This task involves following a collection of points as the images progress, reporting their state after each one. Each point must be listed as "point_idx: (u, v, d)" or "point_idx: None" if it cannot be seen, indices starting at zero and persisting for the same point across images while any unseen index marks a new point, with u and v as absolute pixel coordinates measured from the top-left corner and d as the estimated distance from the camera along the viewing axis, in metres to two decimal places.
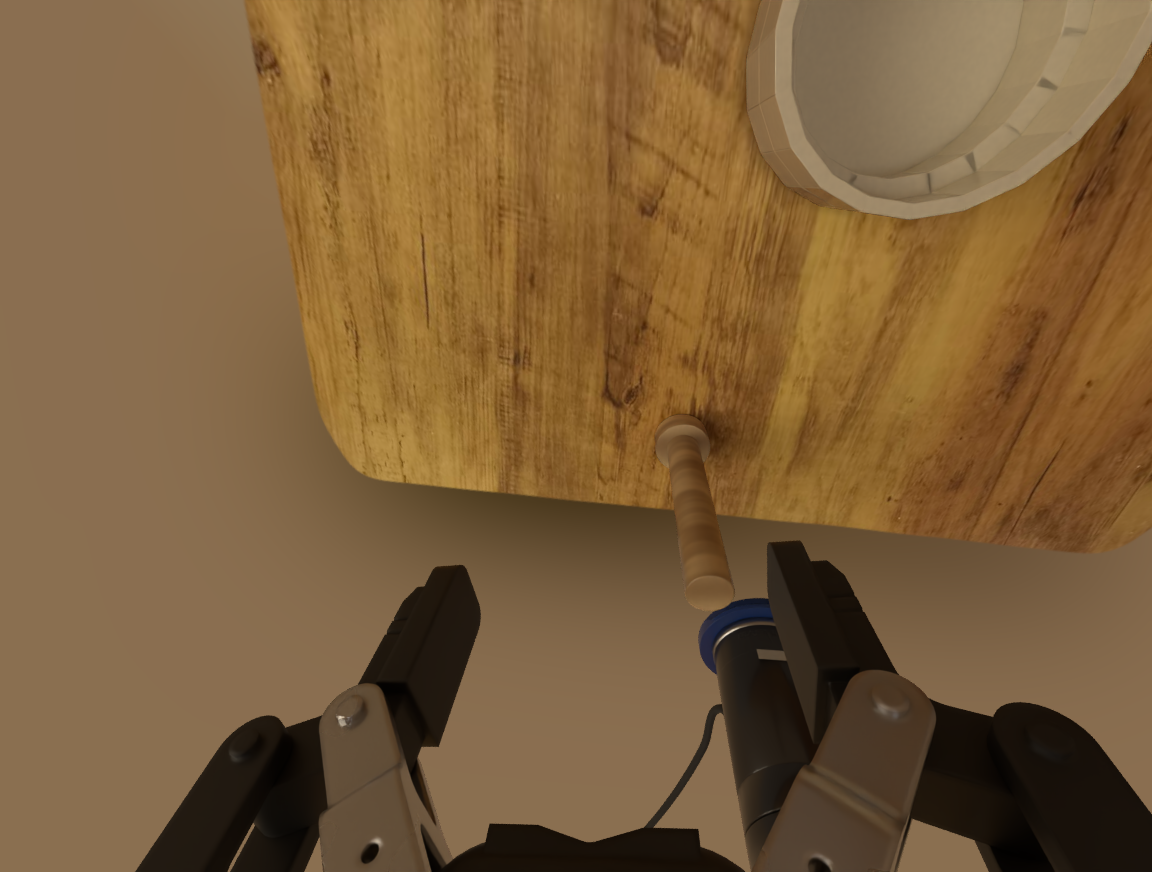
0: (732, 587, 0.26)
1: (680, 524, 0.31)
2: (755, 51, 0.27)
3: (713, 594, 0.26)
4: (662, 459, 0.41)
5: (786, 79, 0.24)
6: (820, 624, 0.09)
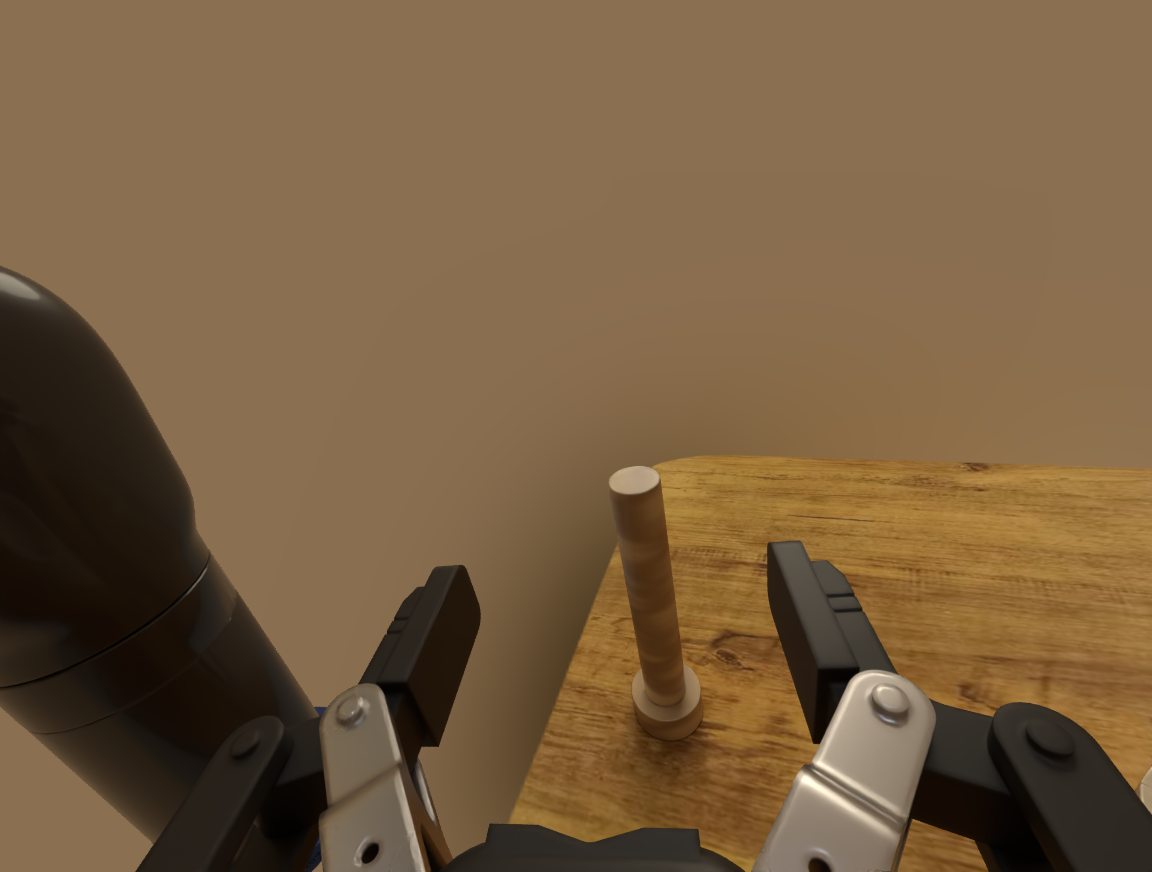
0: (641, 492, 0.23)
1: None
2: None
3: (633, 481, 0.24)
4: None
5: None
6: (820, 624, 0.09)
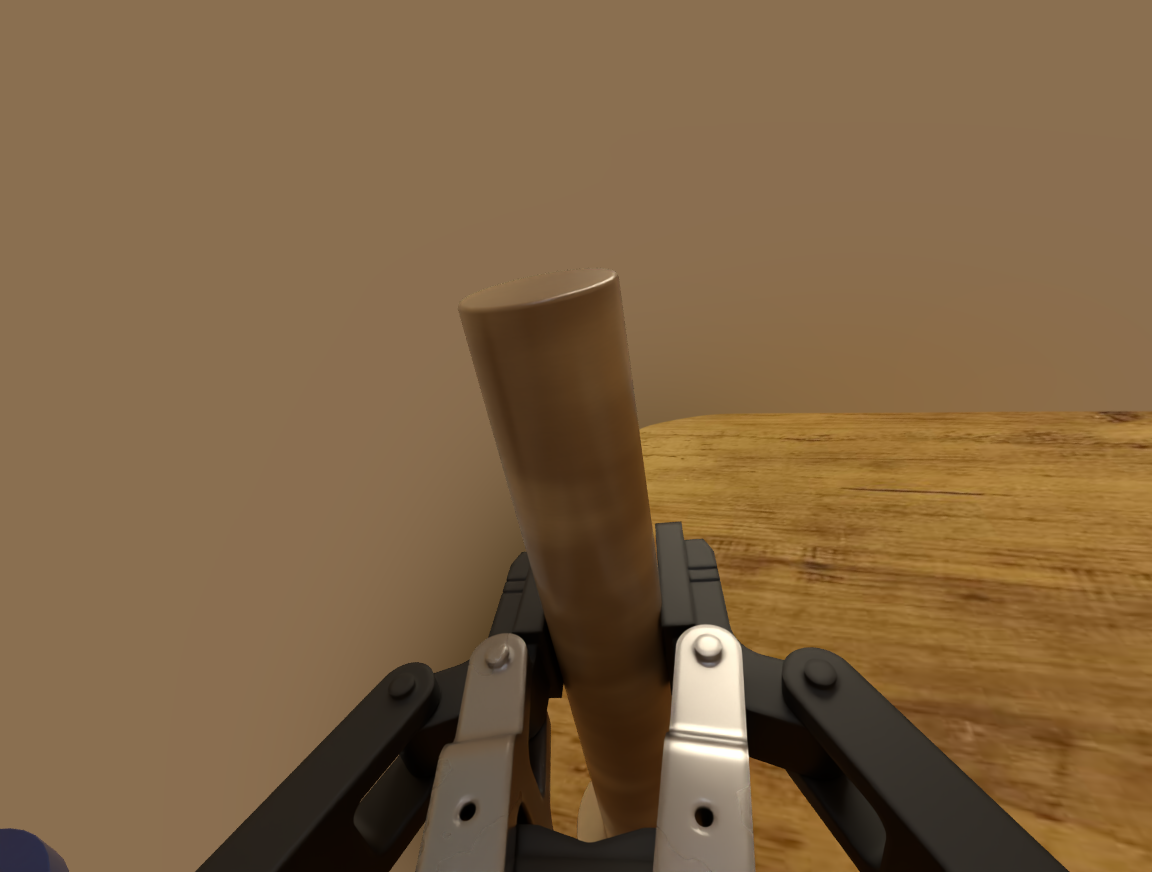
0: (549, 299, 0.07)
1: None
2: None
3: (533, 288, 0.08)
4: None
5: None
6: (674, 590, 0.11)
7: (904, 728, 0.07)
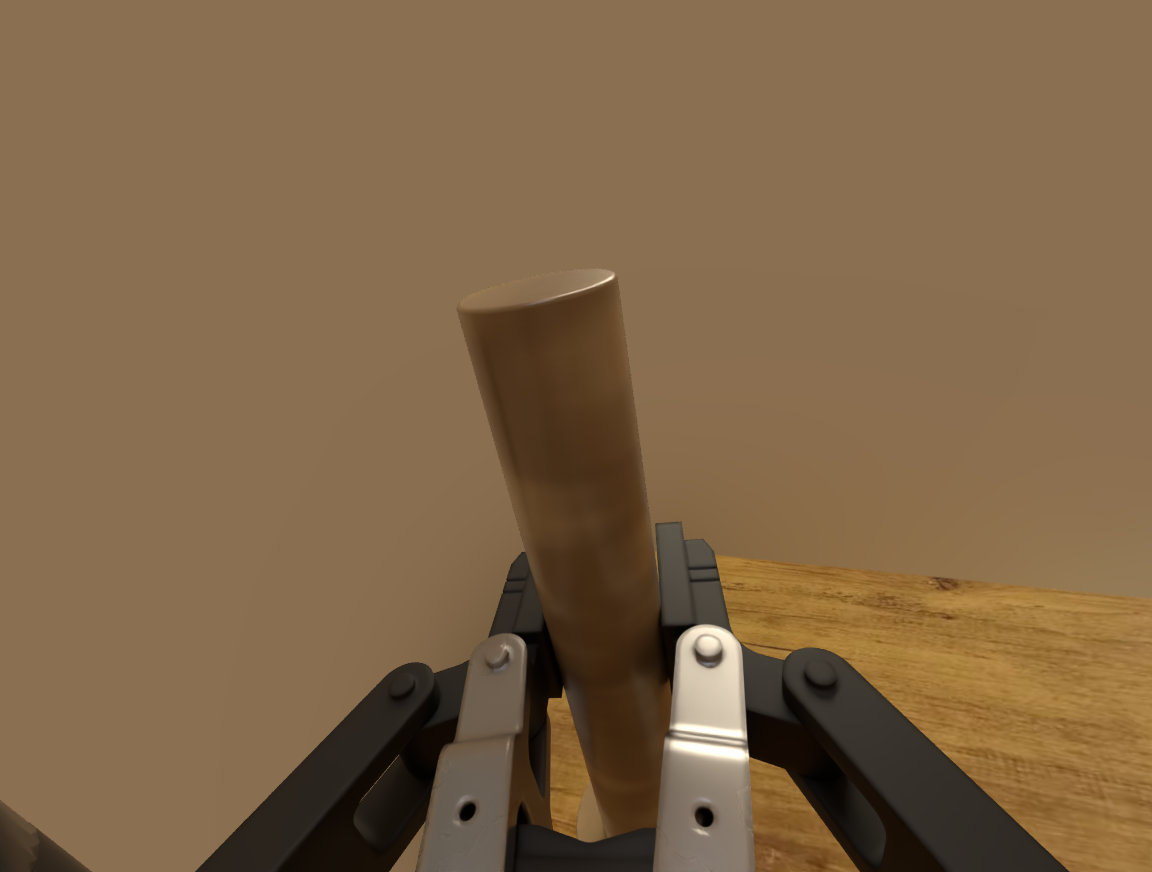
0: (548, 299, 0.07)
1: None
2: None
3: (532, 288, 0.08)
4: None
5: None
6: (675, 590, 0.11)
7: (904, 728, 0.07)
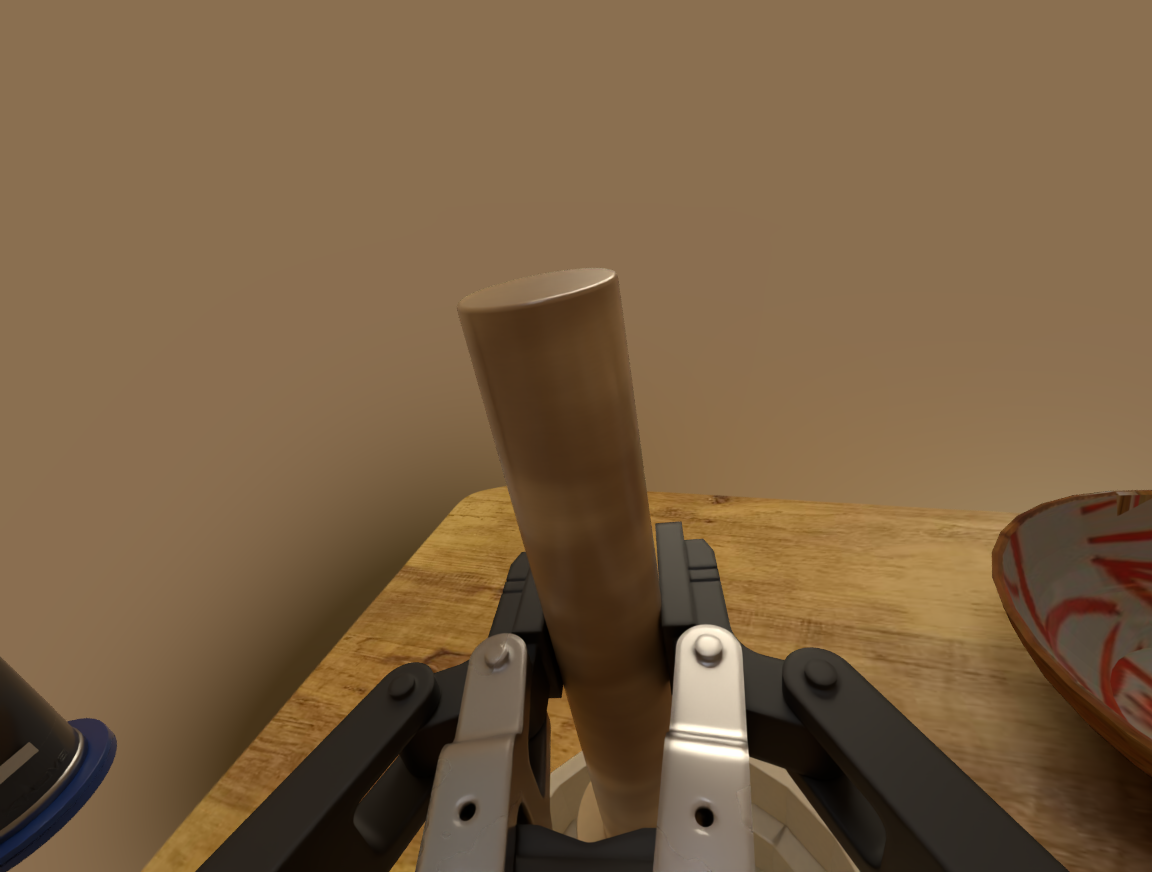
0: (548, 299, 0.07)
1: None
2: None
3: (532, 288, 0.08)
4: None
5: None
6: (675, 590, 0.11)
7: (904, 728, 0.07)
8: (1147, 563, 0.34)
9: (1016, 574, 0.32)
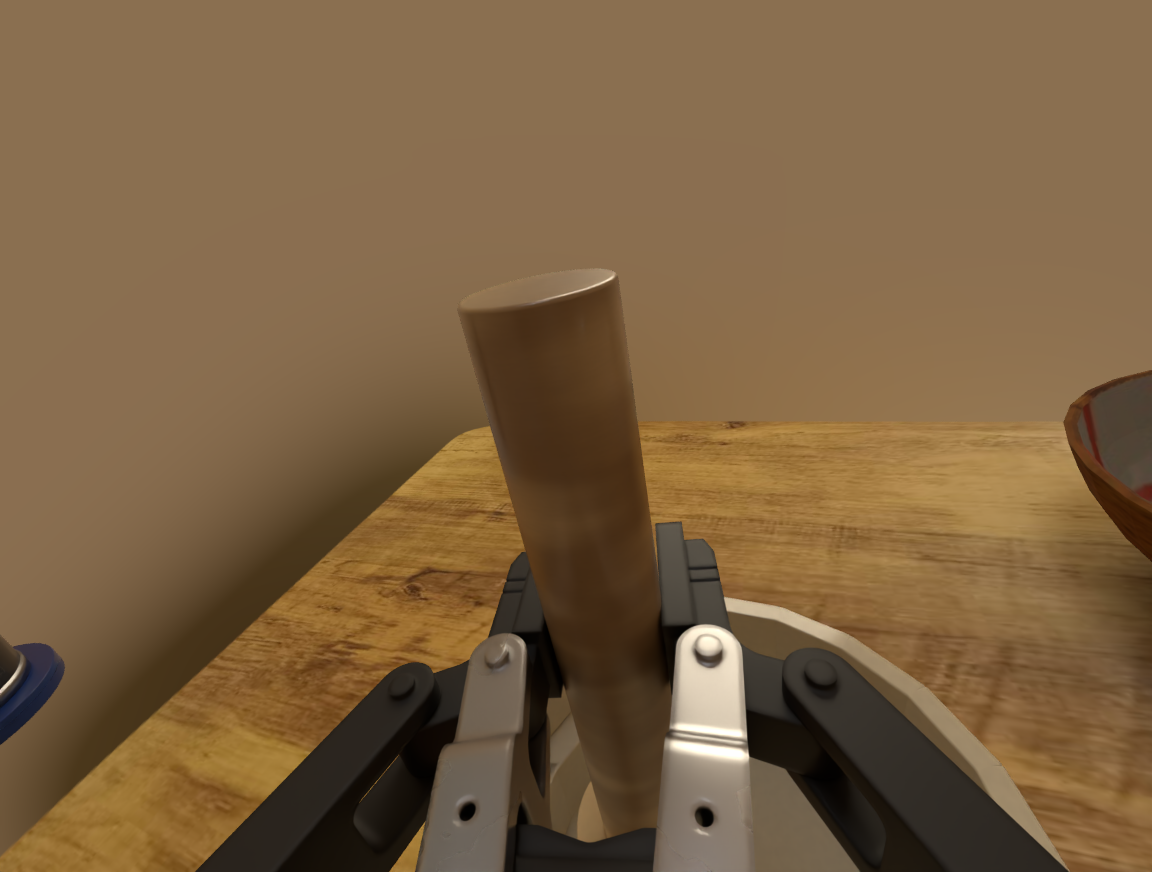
0: (548, 299, 0.07)
1: None
2: None
3: (532, 288, 0.08)
4: None
5: None
6: (675, 590, 0.11)
7: (904, 728, 0.07)
8: None
9: (1091, 449, 0.28)
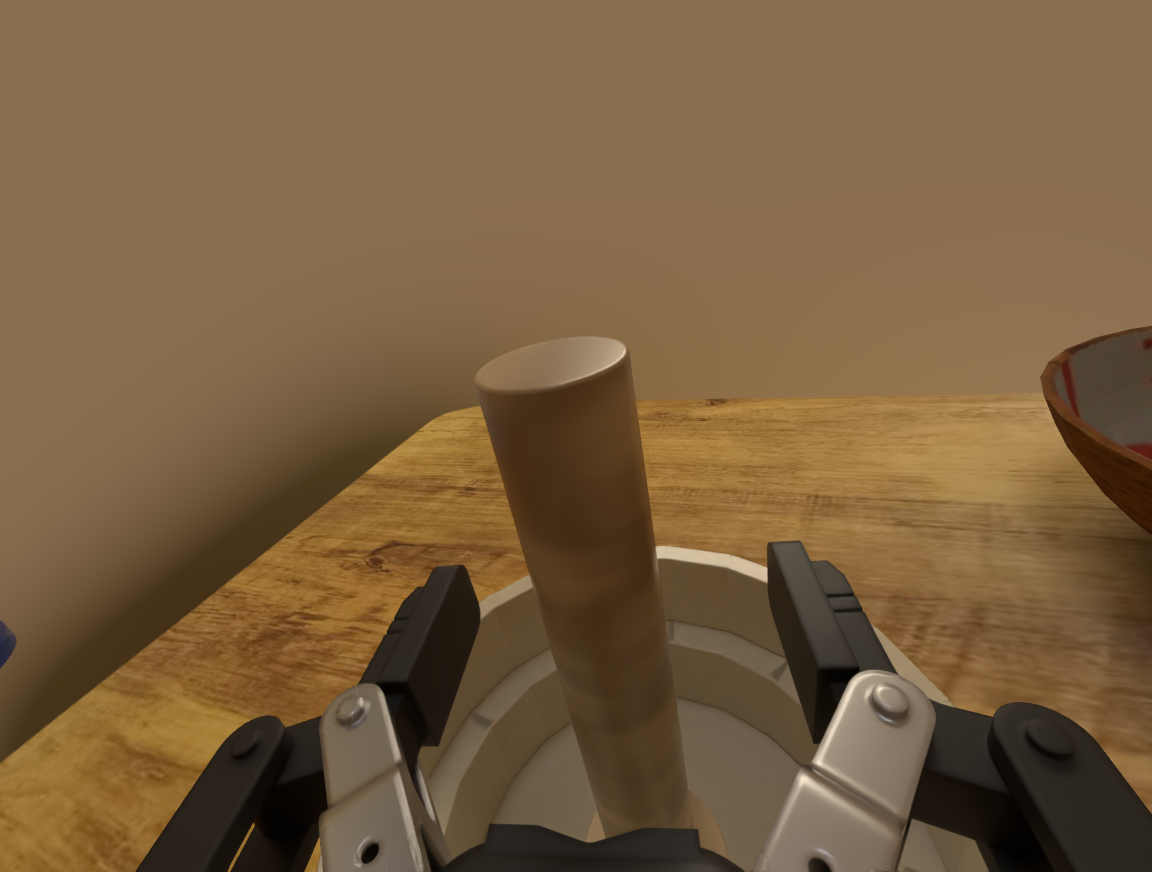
0: (564, 383, 0.07)
1: None
2: None
3: (546, 363, 0.08)
4: None
5: None
6: (820, 624, 0.09)
7: None
8: None
9: (1069, 406, 0.26)
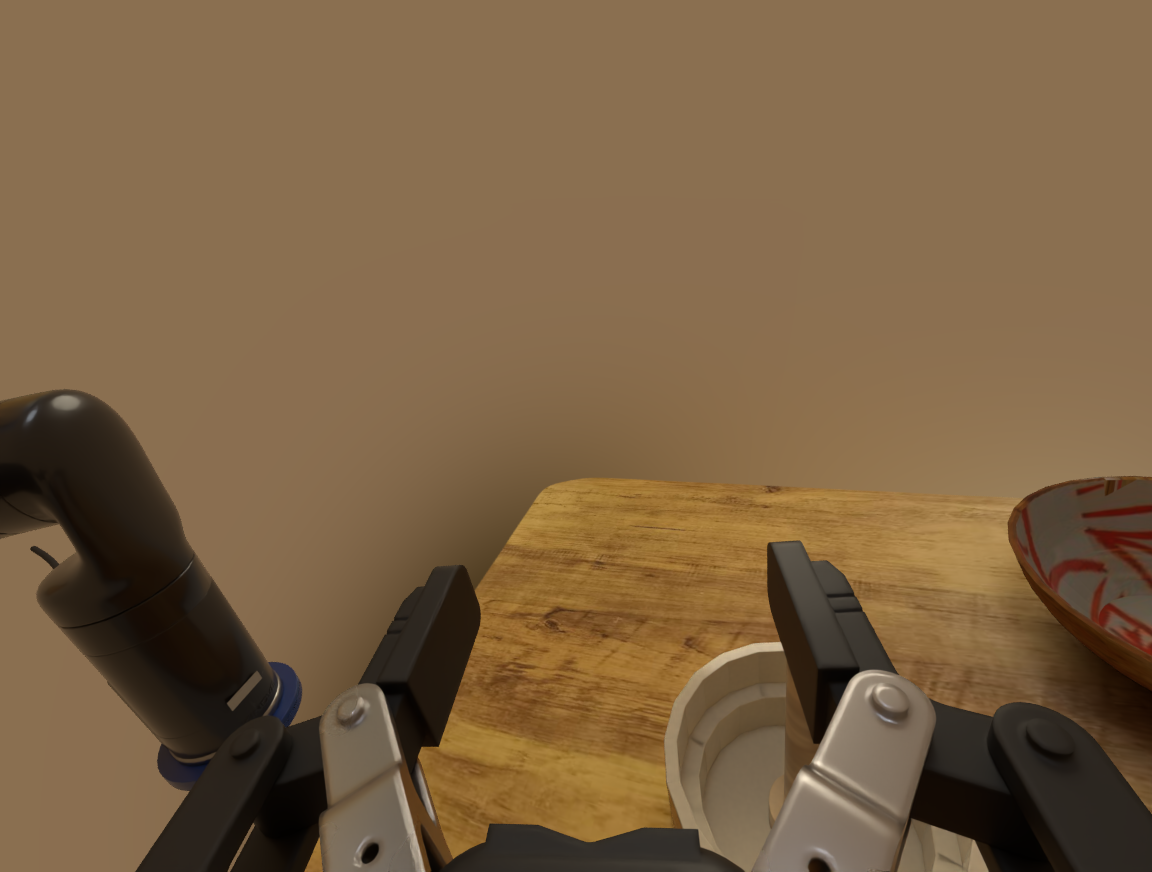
0: None
1: None
2: None
3: None
4: None
5: (763, 648, 0.36)
6: (820, 624, 0.09)
7: None
8: (1128, 532, 0.44)
9: (1026, 539, 0.42)
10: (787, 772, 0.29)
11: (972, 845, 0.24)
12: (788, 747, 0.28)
